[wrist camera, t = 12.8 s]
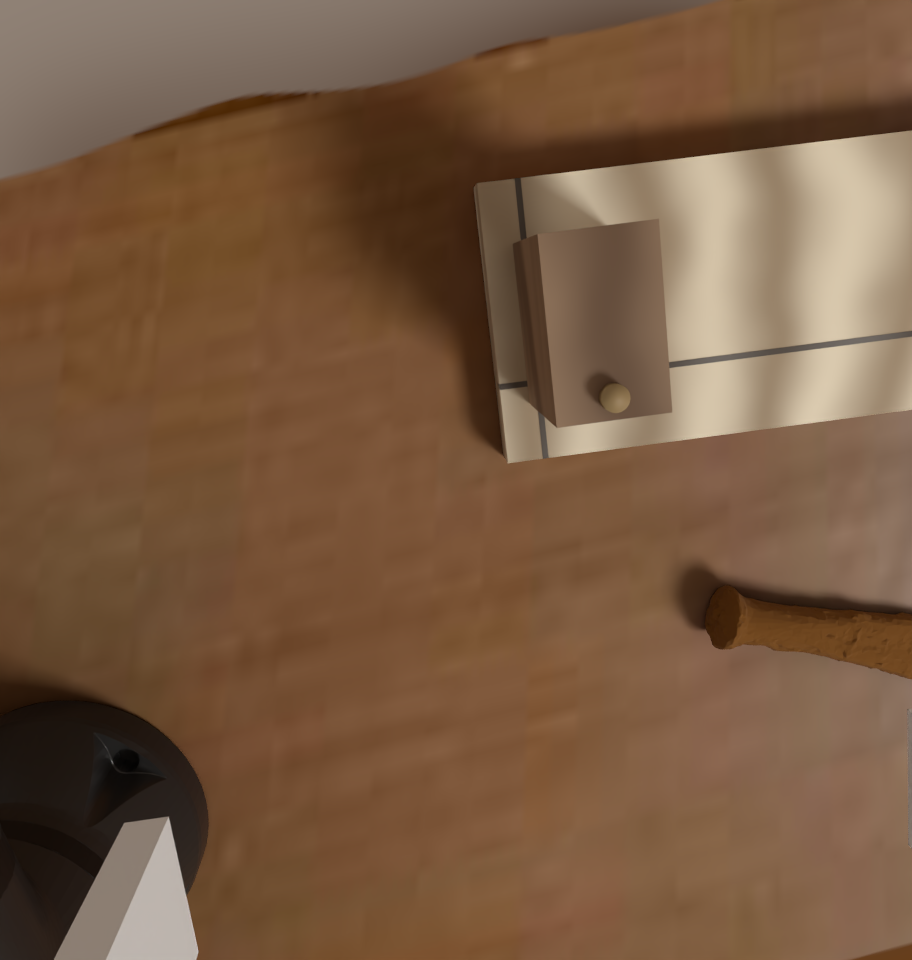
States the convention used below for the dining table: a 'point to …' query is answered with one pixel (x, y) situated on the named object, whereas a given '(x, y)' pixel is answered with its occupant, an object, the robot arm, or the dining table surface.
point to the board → (731, 286)
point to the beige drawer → (594, 323)
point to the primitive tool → (812, 631)
